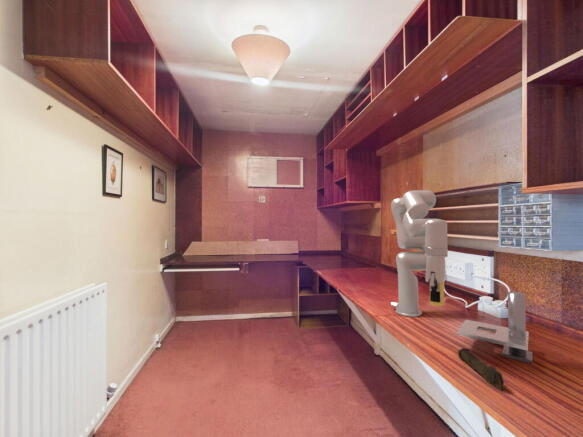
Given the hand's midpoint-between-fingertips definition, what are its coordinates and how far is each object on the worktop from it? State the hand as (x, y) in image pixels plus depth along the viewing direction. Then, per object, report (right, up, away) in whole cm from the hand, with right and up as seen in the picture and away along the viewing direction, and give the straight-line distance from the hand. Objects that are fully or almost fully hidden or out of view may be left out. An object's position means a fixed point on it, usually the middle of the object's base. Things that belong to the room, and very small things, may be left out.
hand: (436, 299), depth 107 cm
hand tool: (+5, -18, -18) cm, 26 cm away
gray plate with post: (+20, -18, -3) cm, 27 cm away
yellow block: (0, -2, 0) cm, 2 cm away
